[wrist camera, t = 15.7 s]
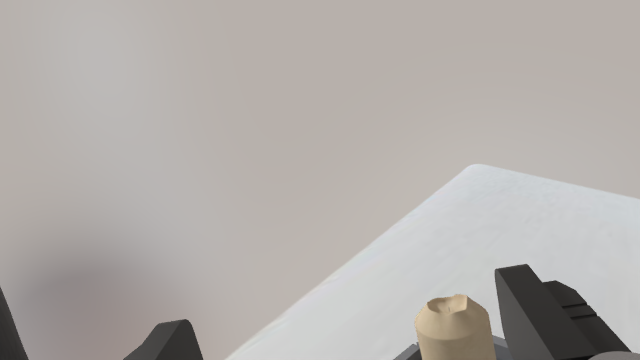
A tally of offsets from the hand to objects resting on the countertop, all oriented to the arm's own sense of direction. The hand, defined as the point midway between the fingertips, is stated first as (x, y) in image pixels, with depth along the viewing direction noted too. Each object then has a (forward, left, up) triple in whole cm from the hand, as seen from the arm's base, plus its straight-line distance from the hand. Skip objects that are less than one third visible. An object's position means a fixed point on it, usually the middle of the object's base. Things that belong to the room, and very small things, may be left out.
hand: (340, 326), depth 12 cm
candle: (+4, +22, -22) cm, 31 cm away
